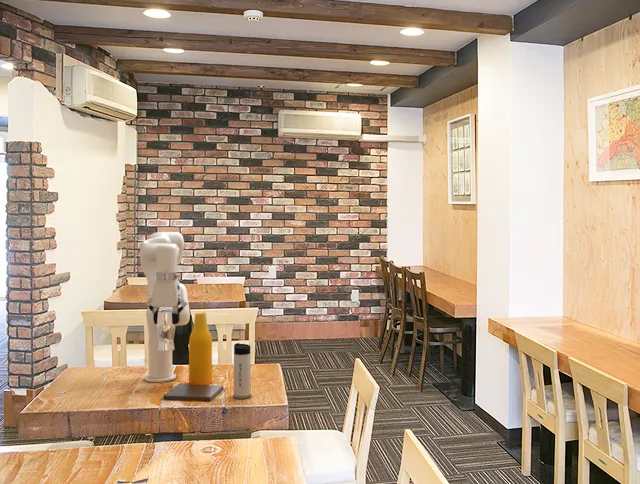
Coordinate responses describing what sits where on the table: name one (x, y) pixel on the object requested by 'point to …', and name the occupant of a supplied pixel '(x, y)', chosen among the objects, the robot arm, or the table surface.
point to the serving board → (193, 392)
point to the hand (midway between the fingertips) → (166, 323)
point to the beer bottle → (200, 352)
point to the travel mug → (242, 371)
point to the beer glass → (166, 329)
